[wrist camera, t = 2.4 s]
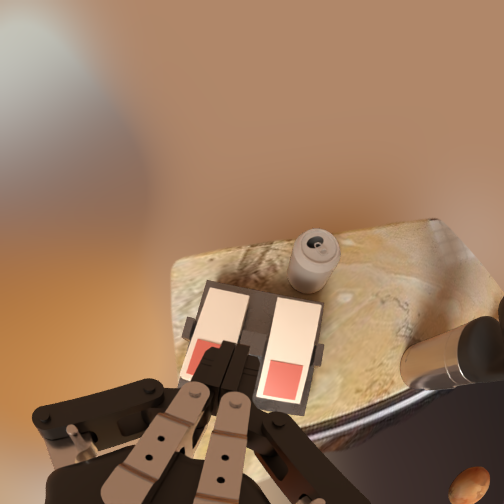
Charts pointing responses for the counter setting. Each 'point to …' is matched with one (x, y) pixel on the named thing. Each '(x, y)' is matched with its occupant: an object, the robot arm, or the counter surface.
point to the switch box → (261, 340)
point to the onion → (469, 486)
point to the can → (313, 260)
